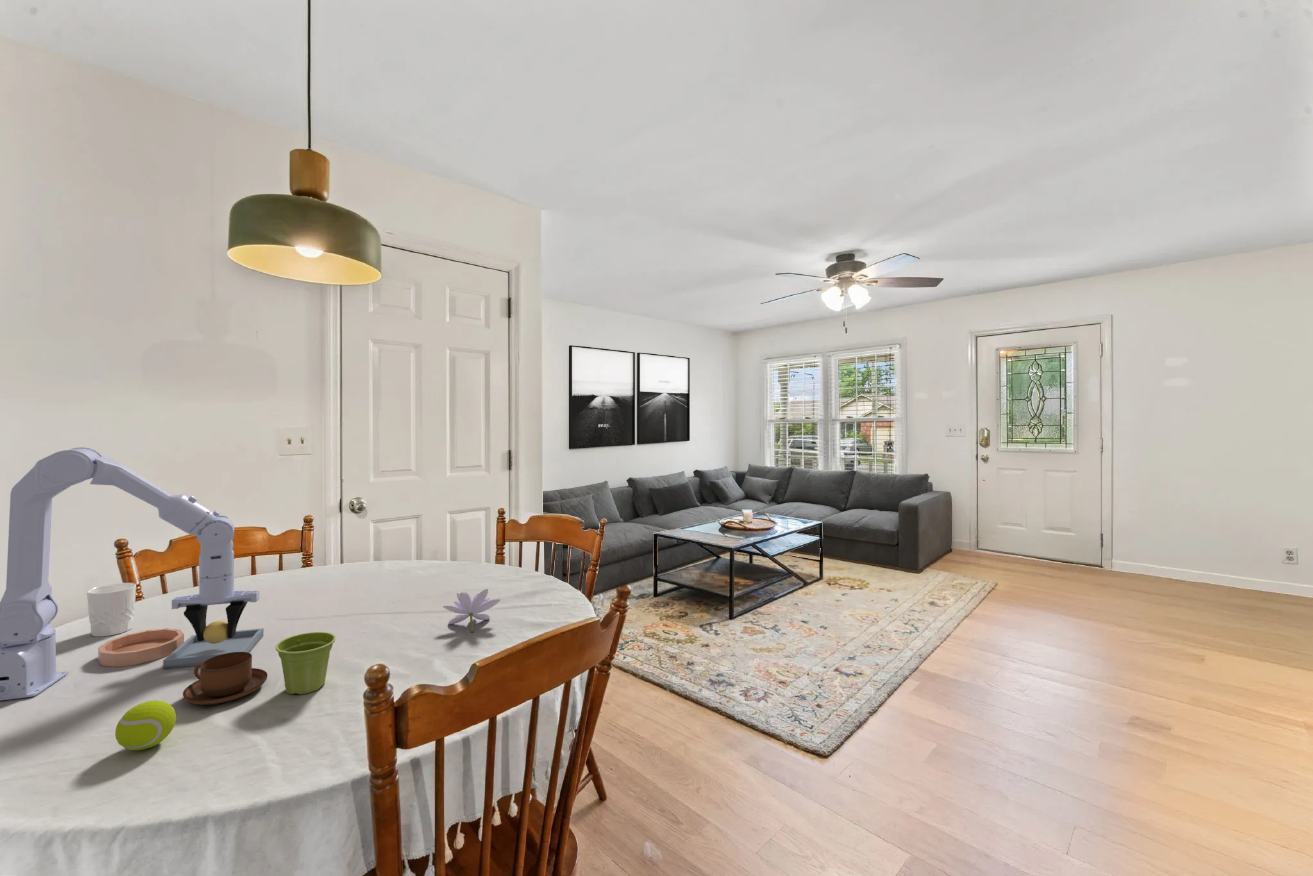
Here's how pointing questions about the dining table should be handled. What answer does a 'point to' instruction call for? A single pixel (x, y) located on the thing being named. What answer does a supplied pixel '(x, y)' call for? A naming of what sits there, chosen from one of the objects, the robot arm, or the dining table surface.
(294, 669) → the plant pot
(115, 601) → the white cup
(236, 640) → the tray
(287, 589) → the dining table surface
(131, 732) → the tennis ball
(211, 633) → the ball
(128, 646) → the bowl
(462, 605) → the water lily
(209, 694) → the cup and saucer
